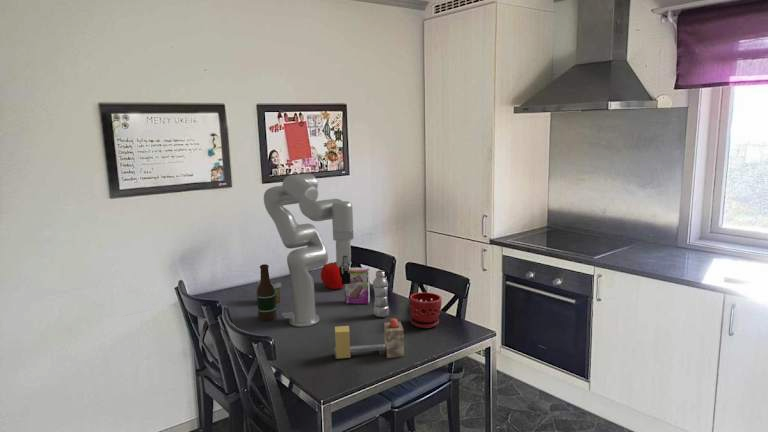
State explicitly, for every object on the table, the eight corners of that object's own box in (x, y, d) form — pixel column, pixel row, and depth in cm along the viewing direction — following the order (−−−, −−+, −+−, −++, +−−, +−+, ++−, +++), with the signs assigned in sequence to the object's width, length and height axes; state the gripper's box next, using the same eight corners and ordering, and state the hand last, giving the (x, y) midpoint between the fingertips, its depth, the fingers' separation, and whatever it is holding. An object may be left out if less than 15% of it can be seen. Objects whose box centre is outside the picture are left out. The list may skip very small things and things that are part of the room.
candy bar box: (345, 304, 234) (343, 270, 231) (346, 300, 239) (345, 267, 236) (368, 304, 233) (367, 270, 230) (370, 300, 238) (369, 267, 235)
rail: (334, 358, 180) (334, 350, 179) (334, 355, 182) (334, 347, 182) (387, 354, 182) (387, 346, 181) (386, 351, 184) (386, 343, 184)
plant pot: (432, 332, 200) (432, 303, 198) (404, 326, 207) (403, 298, 205) (446, 321, 211) (446, 294, 209) (419, 316, 218) (418, 289, 216)
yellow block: (336, 358, 178) (335, 332, 177) (335, 352, 184) (334, 326, 182) (350, 357, 179) (349, 331, 177) (349, 351, 184) (348, 325, 182)
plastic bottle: (387, 319, 215) (386, 274, 211) (372, 318, 216) (370, 273, 213) (390, 313, 221) (389, 269, 218) (375, 313, 222) (374, 269, 219)
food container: (253, 303, 238) (251, 283, 236) (260, 299, 243) (259, 279, 242) (275, 306, 233) (273, 286, 231) (282, 302, 239) (281, 282, 237)
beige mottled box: (387, 358, 179) (386, 331, 177) (384, 348, 187) (384, 322, 185) (404, 357, 179) (403, 330, 178) (400, 347, 188) (400, 321, 186)
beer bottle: (259, 315, 222) (256, 263, 218) (277, 314, 223) (274, 262, 219) (257, 322, 215) (253, 268, 211) (275, 321, 215) (272, 267, 211)
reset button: (390, 332, 180) (390, 321, 180) (389, 329, 183) (389, 318, 182) (398, 332, 181) (397, 320, 180) (397, 328, 184) (396, 317, 183)
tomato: (347, 292, 252) (346, 265, 249) (319, 292, 252) (318, 266, 249) (349, 282, 267) (348, 257, 265) (323, 282, 267) (322, 257, 265)
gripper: (331, 231, 194) (333, 274, 196) (334, 240, 177) (336, 287, 180) (351, 230, 195) (352, 272, 198) (355, 239, 178) (357, 286, 181)
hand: (345, 279), depth 189 cm, fingers open, 9 cm apart
